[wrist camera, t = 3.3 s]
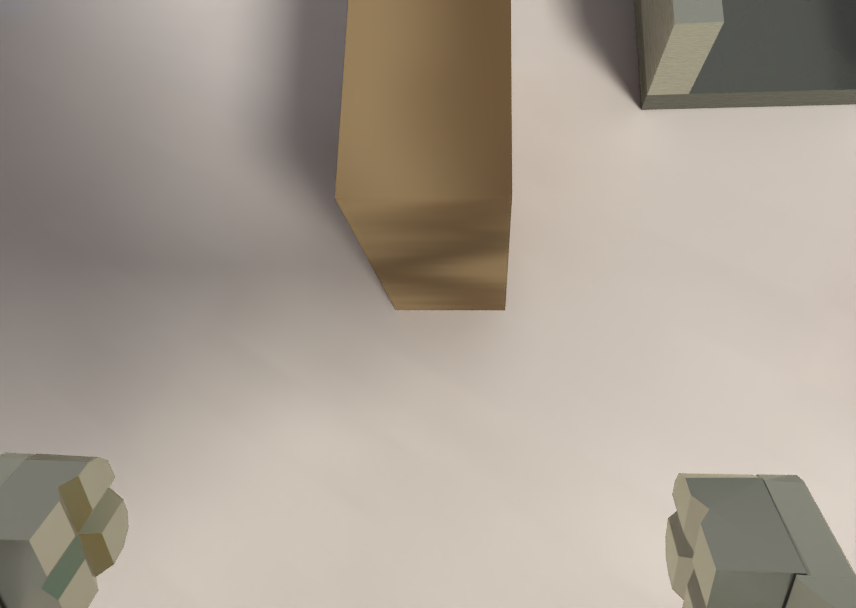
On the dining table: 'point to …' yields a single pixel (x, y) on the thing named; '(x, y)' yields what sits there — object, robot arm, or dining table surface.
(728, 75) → the track
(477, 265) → the brown rectangular block
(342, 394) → the dining table surface
